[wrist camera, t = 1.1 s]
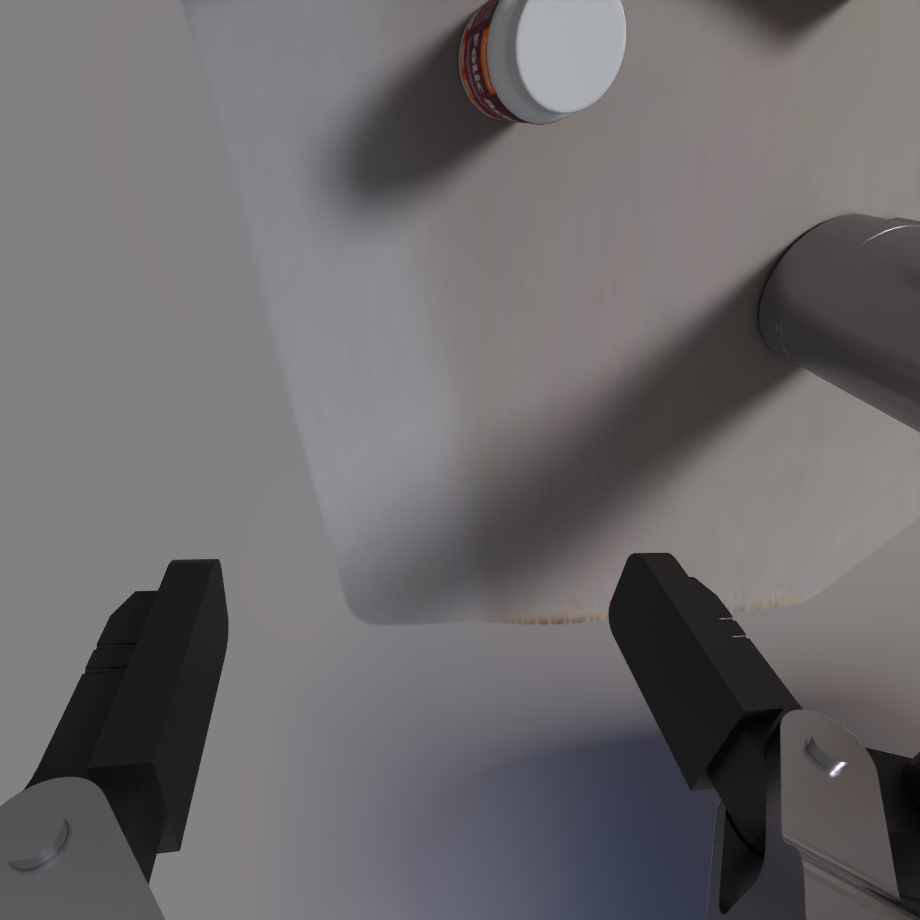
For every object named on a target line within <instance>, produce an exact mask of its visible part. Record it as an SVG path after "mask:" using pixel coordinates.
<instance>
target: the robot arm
mask: <svg viewBox="0 0 920 920" xmlns="http://www.w3.org/2000/svg"><path fill="white" fill-rule="evenodd" d="M759 324H760V331H761V334H762V336H763V339H764V341H765V342H766V344H767V345H768V346H769V347H770V349H771V350H773V351H775V352H776V353H778V354H779V355H781V356H783V357H784V358H786V359H788V360H790V361H792V362H794V363H795V364H797V365H799V366H801V367H803V368H804V369H806V370H808V371H810V372H812V373H814V374H815V375H817V376H818V377H820V378H822V379H824V380H826V381H828V382H829V383H831V384H833V385H835V386H837V387H838V388H840V389H842V390H844V391H846V392H847V393H849V394H851V395H853V396H855V397H857V398H858V399H860V400H862V401H864V402H866V403H867V404H869V405H871V406H873V407H875V408H877V409H878V410H880V411H882V412H884V413H886V414H887V415H889V416H891V417H893V418H895V419H897V420H898V421H900V422H902V423H904V424H906V425H907V426H909V427H911V428H913V429H915V430H917V431H918V432H920V221H915V220H910V219H904V218H899V217H897V218H894V219H891V220H889V219H884V218H879V217H874V216H869V215H861V214H850V215H844V216H839V217H836V218H834V219H831V220H828V221H826V222H824V223H822V224H820V225H819V226H817V227H815V228H814V229H812V230H810V231H809V232H808V233H807V234H805V235H804V236H803V237H802V238H801V239H799V240H798V241H797V242H796V243H795V244H794V245H793V246H792V247H791V248H790V249H789V250H788V252H787V253H786V254H785V255H784V256H783V257H782V259H781V260H780V262H779V263H778V265H777V266H776V268H775V269H774V271H773V272H772V274H771V276H770V278H769V280H768V282H767V284H766V287H765V289H764V293H763V296H762V299H761V303H760V311H759ZM609 624H610V628H611V631H612V634H613V636H614V638H615V640H616V642H617V644H618V646H619V648H620V650H621V652H622V654H623V656H624V658H625V660H626V662H627V664H628V666H629V668H630V670H631V672H632V674H633V676H634V678H635V680H636V682H637V684H638V686H639V688H640V690H641V692H642V694H643V696H644V698H645V700H646V702H647V704H648V706H649V708H650V710H651V712H652V714H653V716H654V718H655V720H656V722H657V724H658V726H659V728H660V730H661V732H662V734H663V736H664V738H665V740H666V742H667V744H668V746H669V748H670V750H671V752H672V754H673V756H674V758H675V760H676V762H677V764H678V766H679V768H680V770H681V772H682V774H683V776H684V778H685V780H686V782H687V784H688V786H689V788H690V790H691V791H694V790H702V789H709V788H716V790H717V792H718V794H719V796H720V798H721V802H720V803H719V805H718V807H717V810H716V817H715V828H714V839H713V851H712V861H711V872H710V883H709V894H708V906H707V916H706V920H920V752H919V753H918V754H917V755H916V756H915V757H913V758H912V759H911V758H907V757H903V756H899V755H895V754H890V753H886V752H882V751H878V750H874V749H869V748H865V747H864V746H863V745H862V744H861V743H860V742H859V741H858V739H857V738H856V737H855V736H854V735H852V734H851V733H850V732H849V731H848V730H847V729H845V728H844V727H843V726H841V725H840V724H838V723H837V722H835V721H834V720H832V719H830V718H828V717H826V716H824V715H821V714H819V713H816V712H812V711H808V710H803V709H802V707H801V706H800V705H799V704H798V702H797V701H796V700H795V699H794V697H793V696H792V694H791V693H790V692H789V691H788V689H787V688H786V687H785V685H784V684H783V683H782V681H781V680H780V679H779V677H778V676H777V675H776V673H775V672H774V671H773V669H772V668H771V667H770V665H769V664H768V663H767V661H766V660H765V659H764V657H763V656H762V655H761V653H760V652H759V651H758V650H757V648H756V647H755V645H754V644H753V643H752V642H751V640H750V639H747V638H746V636H745V635H746V634H745V632H744V631H743V630H742V628H741V627H740V626H739V624H738V623H737V622H736V621H733V619H732V615H731V614H730V612H729V611H728V610H727V608H726V607H725V606H724V604H723V603H722V602H721V600H720V599H719V598H718V596H717V595H716V594H714V593H713V592H712V591H711V590H709V589H708V588H707V587H706V586H704V585H703V584H702V583H701V582H699V581H698V580H697V579H696V578H694V577H689V576H688V575H687V574H686V572H685V571H684V570H683V568H682V567H681V565H680V564H679V563H678V561H677V560H676V559H675V557H674V556H672V555H671V554H669V553H634V554H631V555H630V556H629V558H628V559H627V561H626V564H625V567H624V569H623V572H622V574H621V577H620V579H619V582H618V584H617V587H616V590H615V592H614V595H613V597H612V600H611V602H610V606H609ZM227 642H228V613H227V605H226V598H225V591H224V583H223V576H222V569H221V564H220V561H219V560H218V559H195V560H173V561H171V562H170V564H169V565H168V568H167V570H166V572H165V575H164V577H163V580H162V582H161V585H160V588H159V590H158V591H135V592H134V594H132V595H131V596H130V597H129V598H128V599H127V600H126V601H125V602H124V603H123V604H122V605H121V606H120V607H119V608H118V609H117V610H116V611H115V612H114V613H113V614H112V615H111V616H110V618H109V620H108V622H107V624H106V626H105V628H104V630H103V632H102V634H101V636H100V639H99V641H98V643H97V649H96V650H94V651H93V653H92V655H91V657H90V659H89V661H88V664H87V666H86V668H85V669H86V671H85V674H82V676H81V678H80V680H79V682H78V684H77V687H76V689H75V691H74V693H73V695H72V697H71V699H70V701H69V703H68V705H67V707H66V710H65V712H64V714H63V716H62V718H61V720H60V722H59V724H58V726H57V728H56V730H55V733H54V735H53V737H52V739H51V741H50V743H49V745H48V747H47V749H46V751H45V753H44V756H43V758H42V760H41V762H40V764H39V766H38V768H37V770H36V772H35V773H34V775H33V777H32V779H31V780H30V782H29V783H28V785H27V786H26V787H25V789H24V790H23V791H22V792H20V793H18V794H17V795H15V796H14V797H12V798H11V799H9V800H8V801H6V802H5V803H4V804H3V805H2V806H0V920H165V918H164V916H163V914H162V912H161V910H160V908H159V906H158V904H157V902H156V900H155V898H154V896H153V894H152V892H151V890H150V888H149V881H150V877H151V873H152V869H153V866H154V862H155V858H156V854H158V853H166V852H175V851H180V848H181V843H182V839H183V835H184V830H185V826H186V822H187V818H188V813H189V809H190V804H191V800H192V796H193V792H194V787H195V783H196V779H197V775H198V770H199V766H200V762H201V757H202V753H203V749H204V744H205V740H206V736H207V731H208V727H209V723H210V718H211V714H212V710H213V706H214V701H215V697H216V693H217V688H218V684H219V680H220V676H221V671H222V666H223V663H224V658H225V654H226V649H227Z"/></svg>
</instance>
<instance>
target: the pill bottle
mask: <svg viewBox="0 0 920 920" xmlns="http://www.w3.org/2000/svg"><path fill="white" fill-rule="evenodd" d="M625 44H626V22H625V16H624V11H623V7H622V4H621V1H620V0H488V1H487V2H486V3H484V4H483V5H482V6H481V7H480V8H479V9H478V10H477V11H476V12H475V13H474V15H473V16H472V18H471V19H470V21H469V22H468V24H467V26H466V28H465V31H464V33H463V36H462V40H461V44H460V50H459V70H460V77H461V81H462V84H463V86H464V89H465V91H466V93H467V95H468V97H469V99H470V100H471V102H472V103H473V104H474V105H475V106H476V107H477V108H478V109H479V110H480V111H481V112H482V113H484V114H485V115H487V116H489V117H491V118H494V119H497V120H503V121H511V122H521V123H531V124H538V125H543V124H551V123H553V122H557V121H560V120H562V119H564V118H567V117H569V116H570V115H572V114H573V113H575V112H577V111H580V110H583V109H585V108H587V107H588V106H590V105H591V104H593V103H594V102H596V101H597V100H598V99H599V98H600V97H601V96H602V95H603V94H604V93H605V92H606V90H607V89H608V88H609V86H610V85H611V83H612V82H613V80H614V78H615V76H616V74H617V72H618V70H619V67H620V64H621V61H622V58H623V54H624V50H625Z"/></svg>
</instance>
